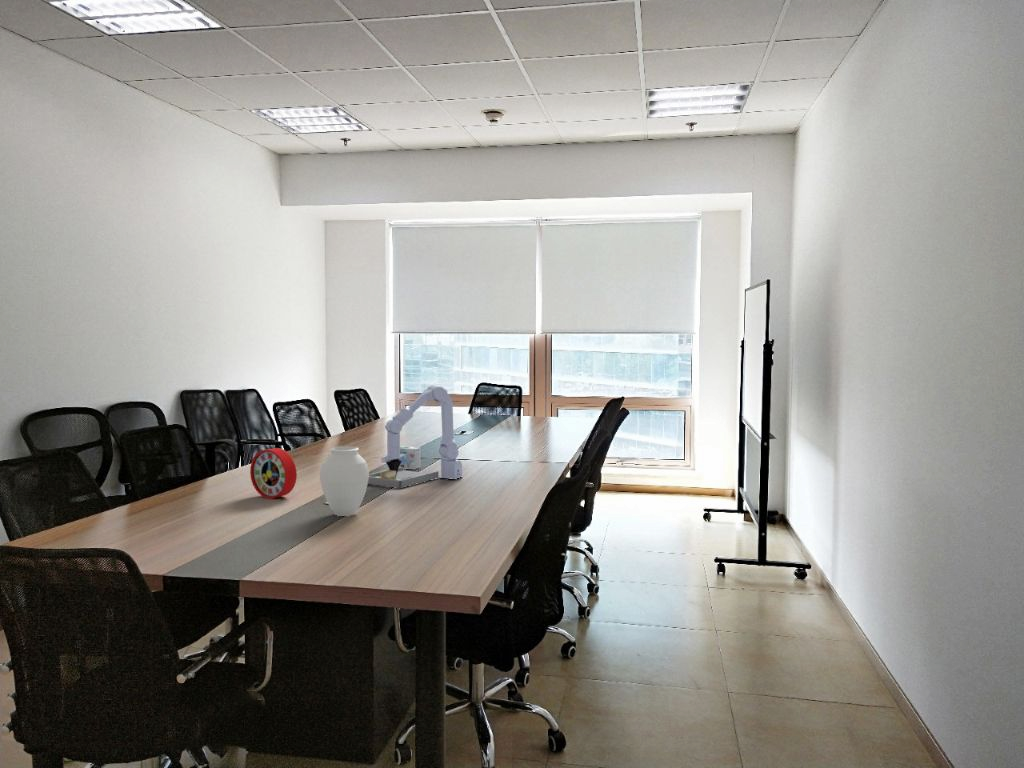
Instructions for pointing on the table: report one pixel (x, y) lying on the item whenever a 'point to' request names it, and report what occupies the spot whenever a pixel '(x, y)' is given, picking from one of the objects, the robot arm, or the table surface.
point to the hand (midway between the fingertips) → (393, 476)
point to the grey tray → (402, 478)
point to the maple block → (388, 474)
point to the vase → (344, 480)
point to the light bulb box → (410, 457)
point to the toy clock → (273, 473)
